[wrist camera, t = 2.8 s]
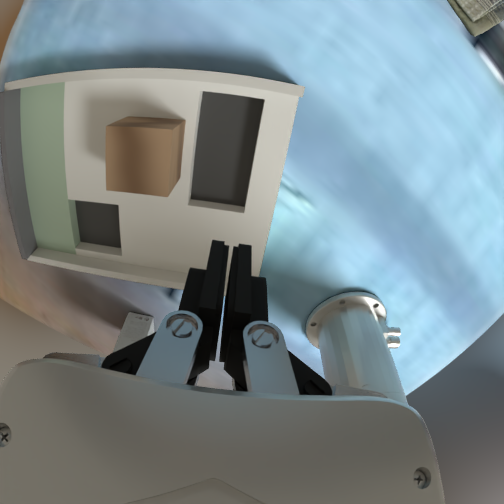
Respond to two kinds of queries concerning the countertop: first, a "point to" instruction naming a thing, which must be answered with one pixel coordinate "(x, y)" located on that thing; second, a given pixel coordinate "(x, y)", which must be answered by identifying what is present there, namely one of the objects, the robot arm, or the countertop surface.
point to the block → (144, 155)
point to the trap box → (139, 205)
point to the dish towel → (479, 14)
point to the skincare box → (134, 330)
